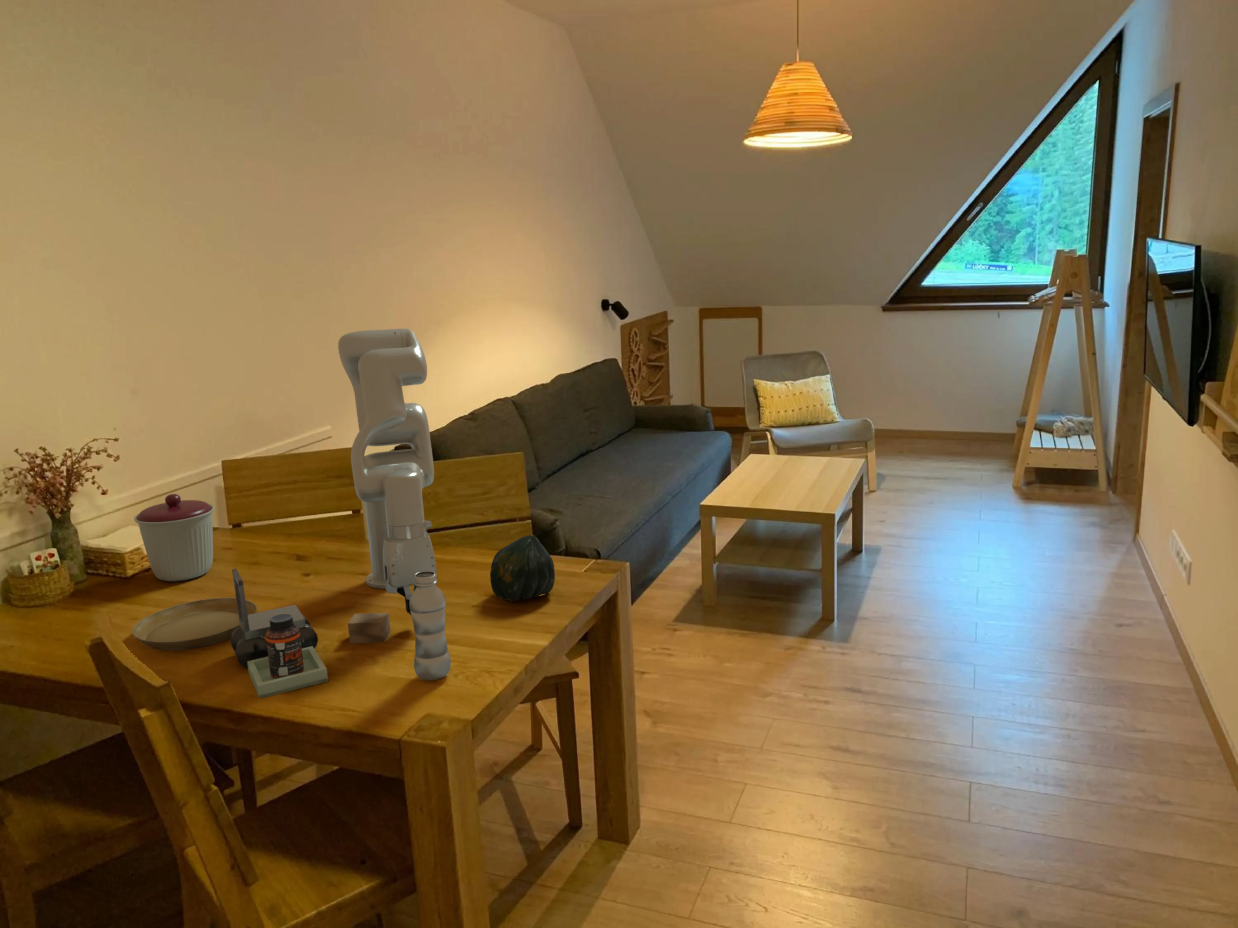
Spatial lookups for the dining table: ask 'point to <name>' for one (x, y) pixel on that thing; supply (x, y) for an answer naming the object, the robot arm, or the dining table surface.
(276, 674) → the supplement bottle
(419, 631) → the plastic bottle
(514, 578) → the squash
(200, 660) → the dining table surface
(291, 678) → the tray
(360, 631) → the block
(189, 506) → the canister
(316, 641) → the trolley
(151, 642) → the plant saucer
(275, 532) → the dining table surface
